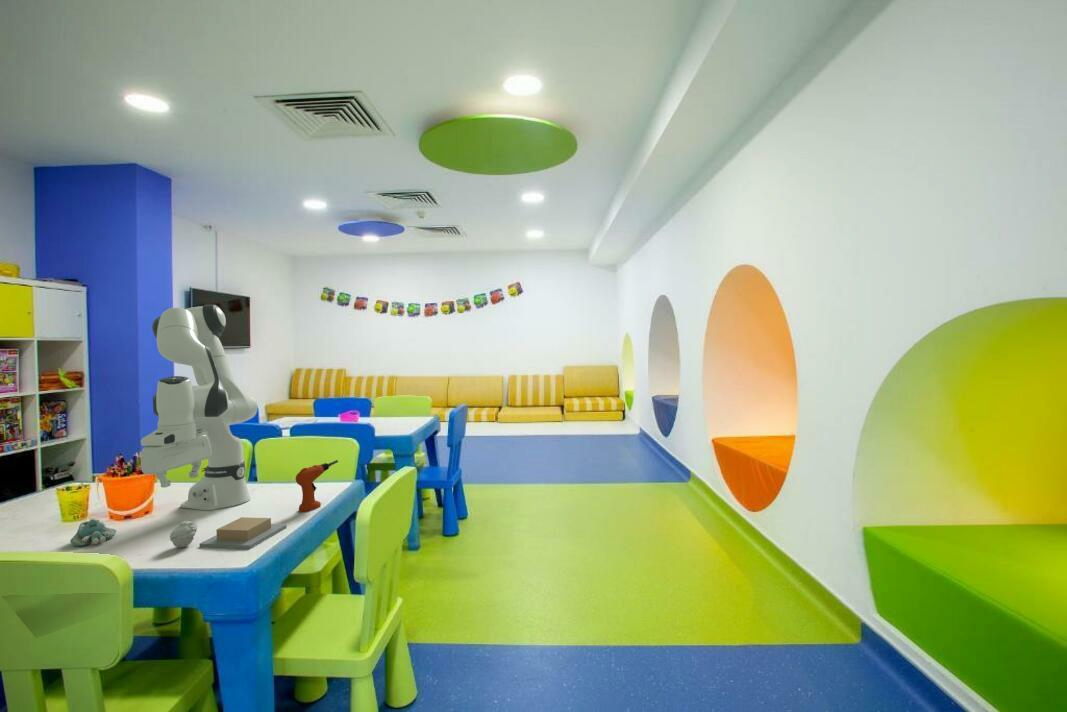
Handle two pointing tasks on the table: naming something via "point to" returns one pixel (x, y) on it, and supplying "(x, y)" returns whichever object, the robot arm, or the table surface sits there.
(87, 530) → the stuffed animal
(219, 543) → the baseplate
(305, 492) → the toy drill
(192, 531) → the grey lumpy sculpture
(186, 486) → the table surface
